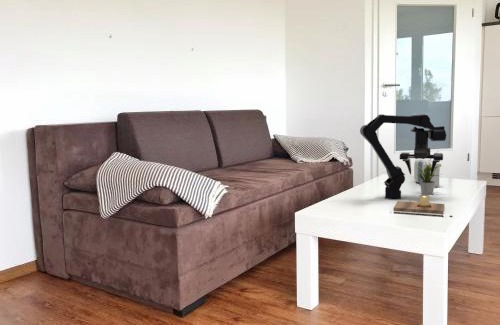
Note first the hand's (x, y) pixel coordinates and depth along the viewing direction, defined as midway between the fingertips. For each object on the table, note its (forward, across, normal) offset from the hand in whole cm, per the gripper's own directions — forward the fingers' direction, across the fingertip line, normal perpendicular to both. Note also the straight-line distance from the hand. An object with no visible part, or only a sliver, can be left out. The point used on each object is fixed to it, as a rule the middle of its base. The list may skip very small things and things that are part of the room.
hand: (420, 174), depth 214 cm
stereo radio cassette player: (+12, 0, +44) cm, 46 cm away
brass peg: (+12, +4, -26) cm, 29 cm away
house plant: (+12, +3, +15) cm, 20 cm away
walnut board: (+12, +2, -20) cm, 24 cm away
